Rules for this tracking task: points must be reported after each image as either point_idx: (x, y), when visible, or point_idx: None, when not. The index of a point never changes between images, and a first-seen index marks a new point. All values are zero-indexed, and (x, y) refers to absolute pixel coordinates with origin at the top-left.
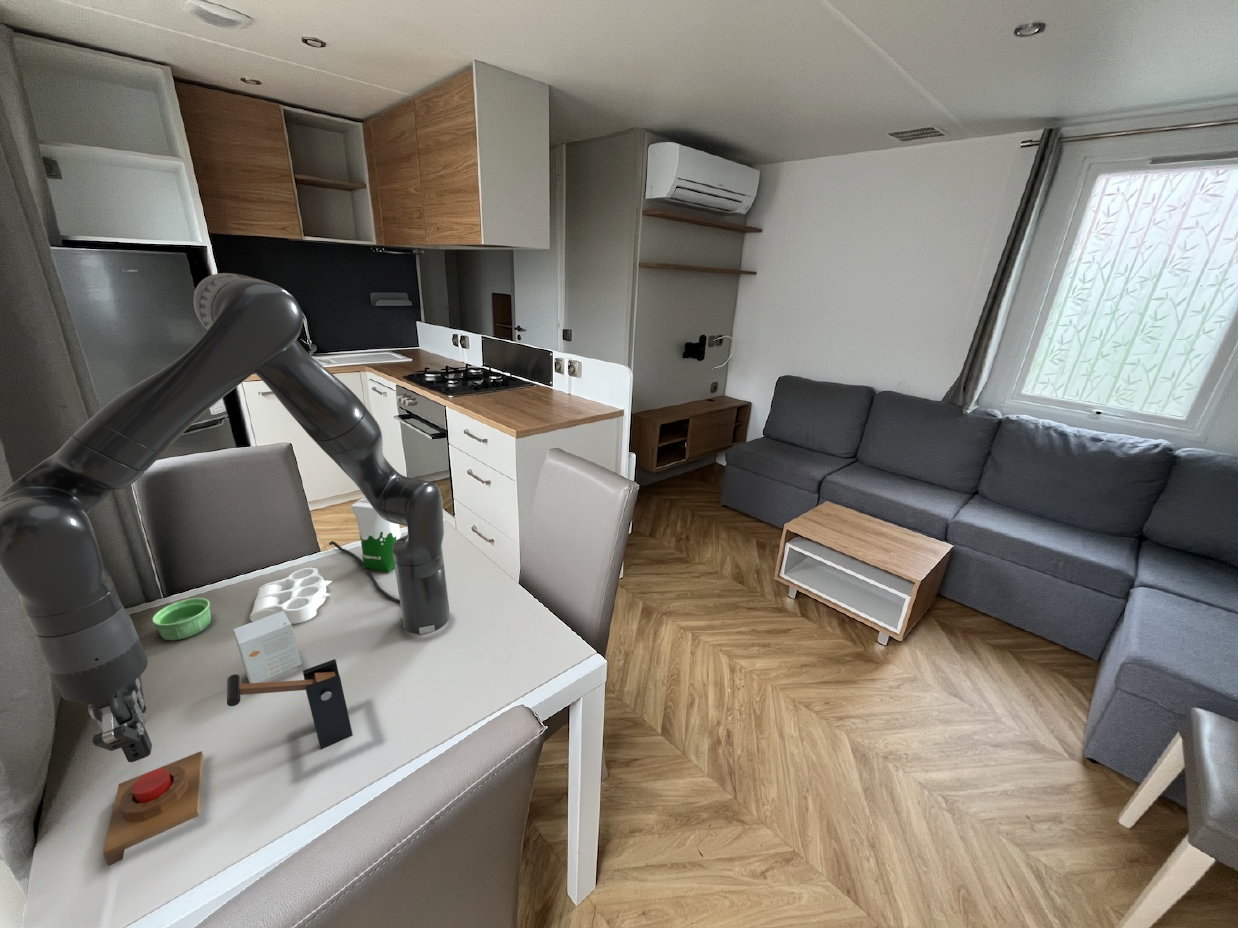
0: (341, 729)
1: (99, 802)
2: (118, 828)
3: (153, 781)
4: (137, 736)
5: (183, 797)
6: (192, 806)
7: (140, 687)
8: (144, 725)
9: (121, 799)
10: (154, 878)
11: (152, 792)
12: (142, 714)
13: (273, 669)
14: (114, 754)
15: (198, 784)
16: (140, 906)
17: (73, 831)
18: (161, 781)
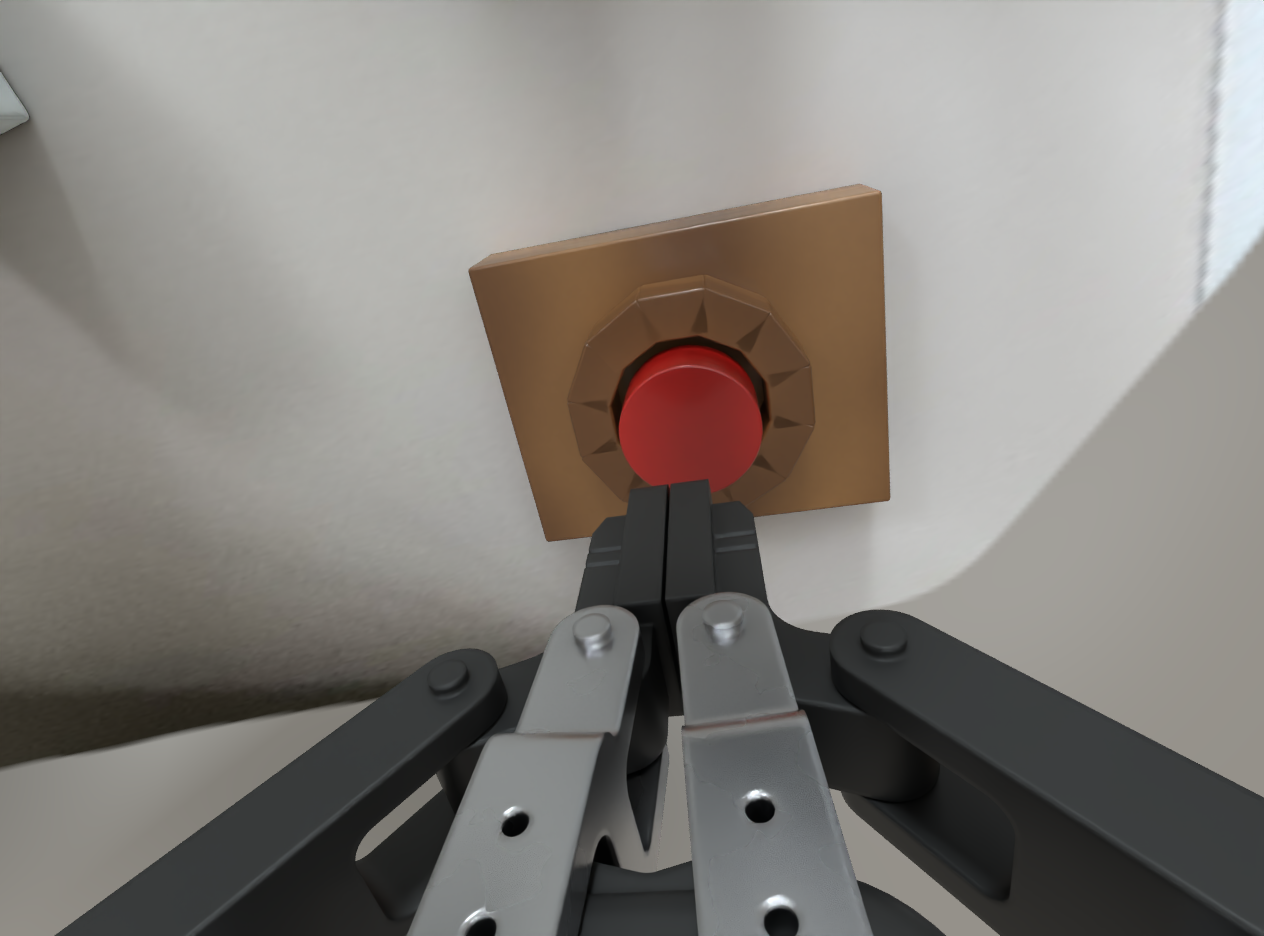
0: None
1: (559, 567)
2: (794, 483)
3: (704, 418)
4: (902, 648)
5: (751, 279)
6: (840, 221)
7: (231, 857)
8: (625, 608)
9: None
10: (1042, 304)
11: (758, 406)
12: (552, 676)
13: None
14: (343, 585)
15: (701, 228)
16: (1143, 319)
17: None
18: (721, 383)
